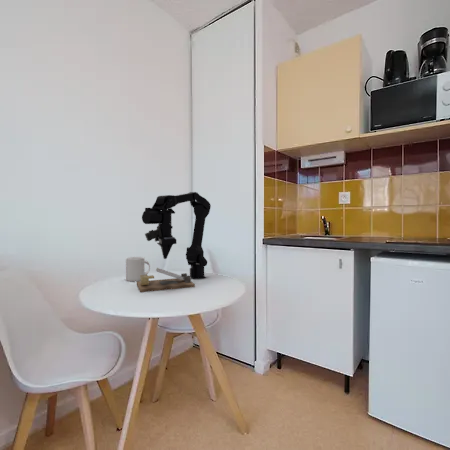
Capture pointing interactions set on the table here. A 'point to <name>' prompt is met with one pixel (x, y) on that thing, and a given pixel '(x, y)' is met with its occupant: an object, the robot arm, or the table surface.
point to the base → (166, 284)
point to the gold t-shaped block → (145, 279)
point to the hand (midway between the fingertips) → (165, 258)
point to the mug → (135, 268)
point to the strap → (170, 274)
